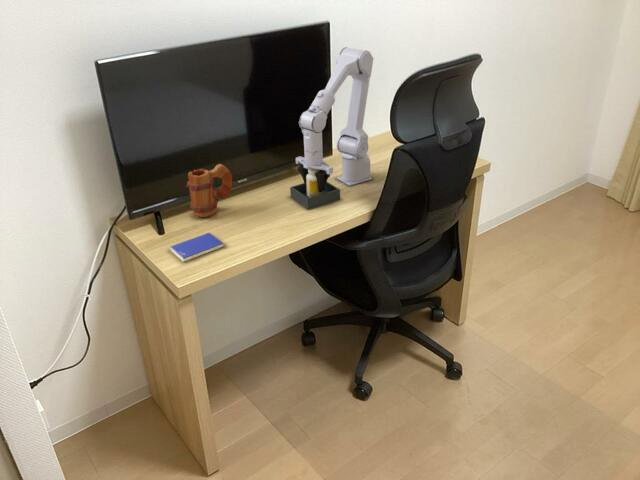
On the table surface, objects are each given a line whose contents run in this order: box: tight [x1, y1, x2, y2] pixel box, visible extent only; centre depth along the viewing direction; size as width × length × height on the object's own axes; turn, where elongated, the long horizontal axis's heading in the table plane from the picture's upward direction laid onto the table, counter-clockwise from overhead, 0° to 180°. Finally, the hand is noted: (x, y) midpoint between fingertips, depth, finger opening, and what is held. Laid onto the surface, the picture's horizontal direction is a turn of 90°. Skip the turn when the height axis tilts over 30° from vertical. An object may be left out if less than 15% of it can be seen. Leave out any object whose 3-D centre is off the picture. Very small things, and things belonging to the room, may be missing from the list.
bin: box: [289, 181, 341, 210], centre depth 188 cm, size 12×11×4 cm
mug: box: [185, 163, 233, 218], centre depth 180 cm, size 15×8×15 cm, turn 117°
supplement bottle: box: [306, 168, 323, 198], centre depth 186 cm, size 5×5×10 cm
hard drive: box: [169, 232, 224, 262], centre depth 163 cm, size 2×8×12 cm
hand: (314, 188), depth 188 cm, fingers closed on supplement bottle, 5 cm apart
